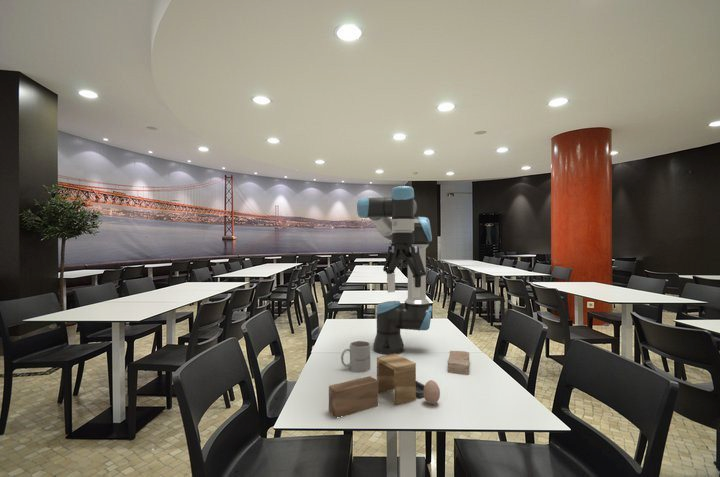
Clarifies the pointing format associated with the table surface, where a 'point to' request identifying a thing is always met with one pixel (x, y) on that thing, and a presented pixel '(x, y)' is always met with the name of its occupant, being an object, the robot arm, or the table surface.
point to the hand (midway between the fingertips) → (403, 294)
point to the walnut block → (353, 396)
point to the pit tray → (419, 390)
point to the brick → (458, 362)
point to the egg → (431, 392)
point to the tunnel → (397, 377)
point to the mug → (358, 356)
